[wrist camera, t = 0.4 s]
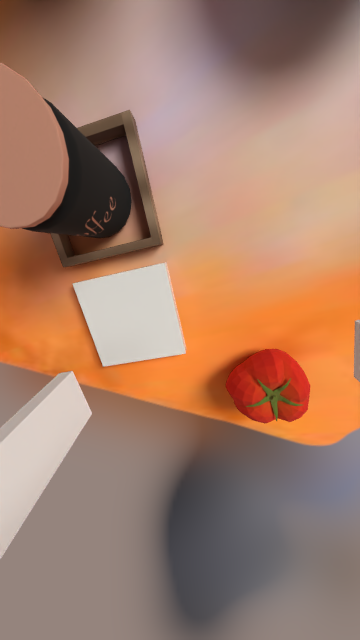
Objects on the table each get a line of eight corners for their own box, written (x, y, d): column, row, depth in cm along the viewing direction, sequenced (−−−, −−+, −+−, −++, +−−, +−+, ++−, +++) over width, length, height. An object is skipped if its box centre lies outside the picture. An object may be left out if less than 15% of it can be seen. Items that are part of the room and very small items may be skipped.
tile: (78, 281, 37) (72, 283, 35) (166, 262, 35) (164, 262, 33) (107, 361, 42) (103, 366, 40) (186, 348, 40) (185, 353, 38)
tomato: (310, 347, 38) (341, 375, 29) (287, 404, 42) (309, 443, 33) (233, 333, 38) (242, 357, 30) (217, 391, 42) (222, 426, 34)
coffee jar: (82, 246, 35) (-25, 243, 18) (55, 174, 32) (-105, 91, 15) (142, 227, 34) (85, 207, 17) (120, 150, 30) (21, 26, 13)
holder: (31, 155, 32) (18, 148, 29) (135, 121, 29) (129, 109, 27) (72, 266, 36) (63, 267, 34) (163, 244, 34) (160, 243, 32)
